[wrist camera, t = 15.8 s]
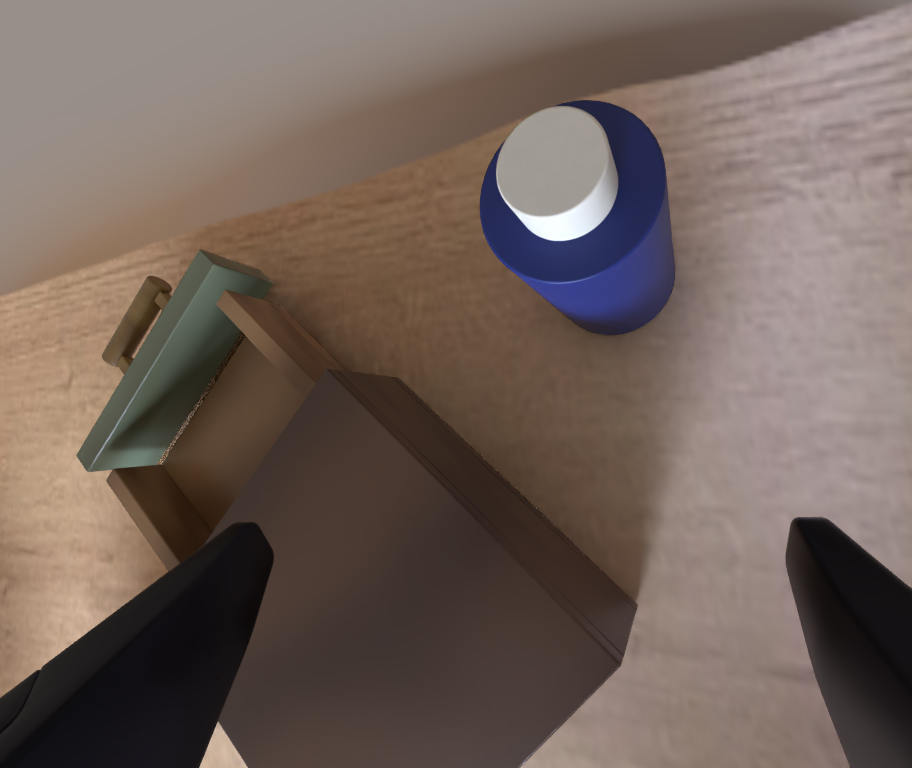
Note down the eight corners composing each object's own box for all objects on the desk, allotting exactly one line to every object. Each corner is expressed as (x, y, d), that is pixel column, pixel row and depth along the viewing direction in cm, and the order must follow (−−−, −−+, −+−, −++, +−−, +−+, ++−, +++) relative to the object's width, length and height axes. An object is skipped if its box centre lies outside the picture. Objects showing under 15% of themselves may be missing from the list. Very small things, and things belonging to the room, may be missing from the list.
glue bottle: (697, 299, 19) (704, 189, 10) (584, 355, 21) (500, 304, 11) (641, 198, 20) (600, 12, 11) (538, 259, 22) (424, 139, 12)
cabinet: (246, 583, 27) (151, 619, 22) (398, 377, 24) (326, 367, 19) (426, 823, 22) (354, 934, 18) (638, 604, 20) (622, 665, 15)
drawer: (111, 406, 30) (41, 404, 27) (218, 228, 28) (154, 203, 25) (277, 629, 25) (215, 662, 22) (429, 433, 22) (384, 436, 19)
